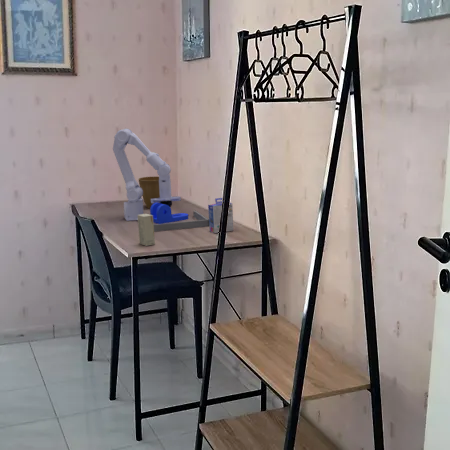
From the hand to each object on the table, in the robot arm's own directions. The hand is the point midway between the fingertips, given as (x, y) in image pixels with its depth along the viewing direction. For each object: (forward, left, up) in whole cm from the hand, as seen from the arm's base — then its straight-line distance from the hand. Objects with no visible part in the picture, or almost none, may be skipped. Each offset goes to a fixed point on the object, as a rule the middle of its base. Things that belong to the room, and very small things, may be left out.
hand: (166, 216), depth 309 cm
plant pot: (0, +32, -1) cm, 32 cm away
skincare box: (-19, -49, -1) cm, 53 cm away
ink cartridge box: (+16, -39, -1) cm, 42 cm away
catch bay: (0, -14, -1) cm, 14 cm away
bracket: (+1, -6, -1) cm, 6 cm away
